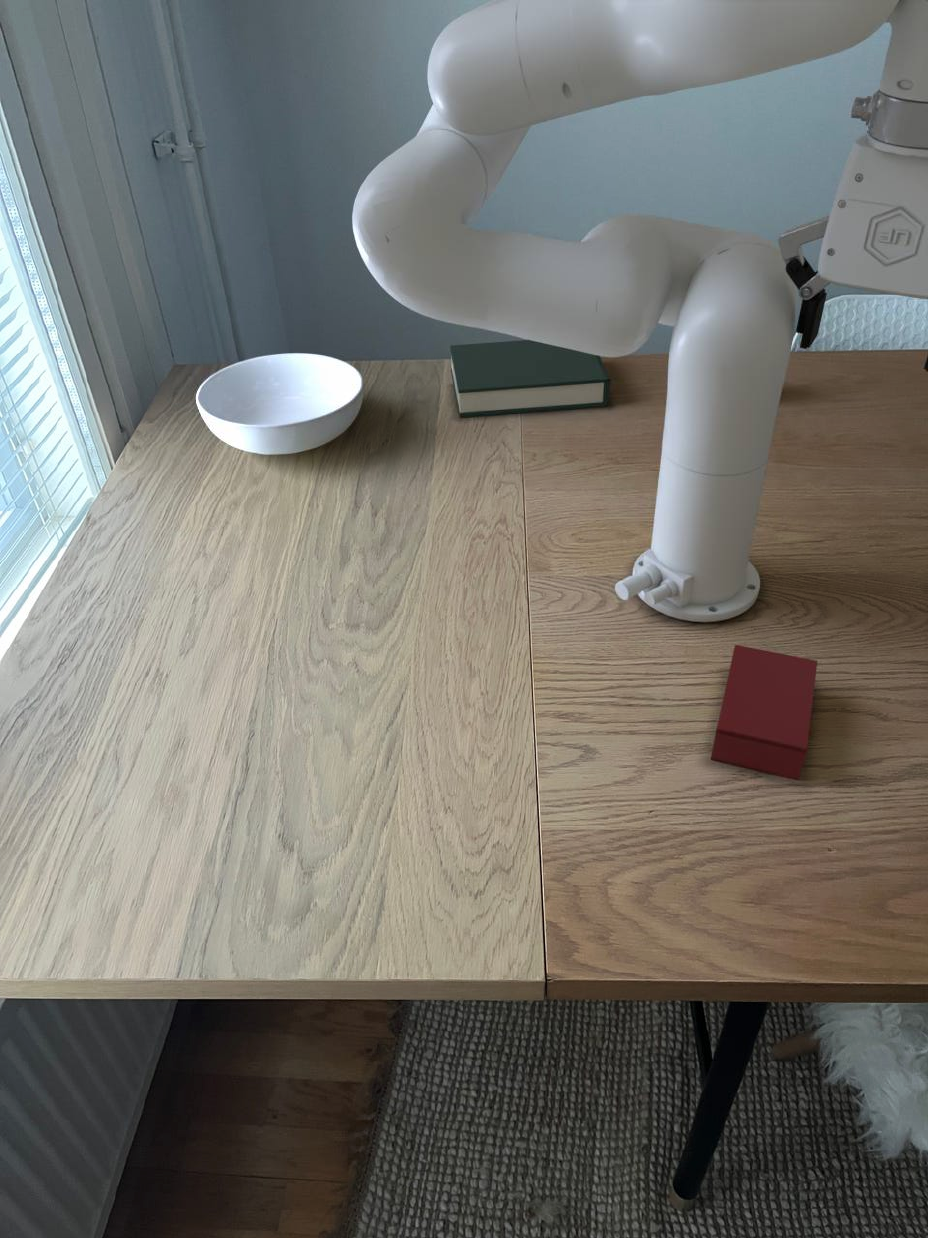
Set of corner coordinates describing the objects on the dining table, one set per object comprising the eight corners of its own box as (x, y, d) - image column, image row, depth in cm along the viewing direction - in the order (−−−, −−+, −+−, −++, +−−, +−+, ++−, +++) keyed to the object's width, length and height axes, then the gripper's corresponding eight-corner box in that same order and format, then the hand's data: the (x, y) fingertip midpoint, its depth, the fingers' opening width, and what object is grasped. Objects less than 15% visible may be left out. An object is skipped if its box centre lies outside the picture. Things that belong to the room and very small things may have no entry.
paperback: (798, 780, 76) (806, 750, 74) (710, 759, 78) (716, 730, 76) (809, 689, 84) (817, 660, 82) (729, 673, 86) (735, 644, 84)
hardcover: (588, 361, 137) (589, 335, 135) (608, 406, 127) (610, 378, 124) (451, 371, 136) (449, 345, 134) (459, 417, 126) (458, 389, 123)
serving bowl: (389, 453, 119) (384, 403, 114) (223, 491, 113) (211, 440, 109) (343, 386, 134) (337, 339, 130) (195, 416, 128) (183, 369, 124)
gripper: (789, 122, 67) (749, 351, 78) (1062, 147, 60) (976, 394, 71) (816, 99, 72) (775, 318, 83) (1071, 121, 65) (989, 356, 76)
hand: (868, 353), depth 77 cm, fingers open, 9 cm apart
